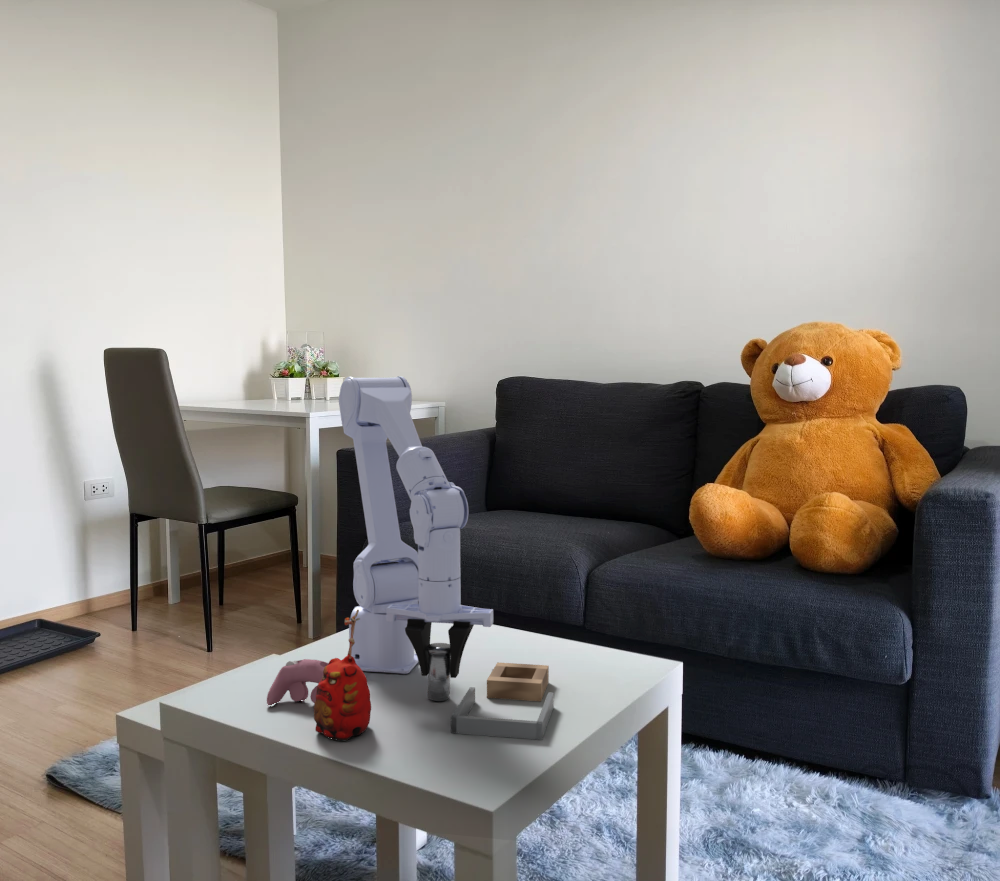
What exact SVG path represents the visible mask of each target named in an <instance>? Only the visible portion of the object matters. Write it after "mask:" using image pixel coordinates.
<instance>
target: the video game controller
mask: <svg viewBox="0 0 1000 881" xmlns="http://www.w3.org/2000/svg"><path fill="white" fill-rule="evenodd" d="M328 663H329V662H326V661H323V660H318V659H308V658H307V659H306V658H305V659H300V660H292V661H291V660H290V661H288V662H286V663H285V665H283V666H282V667H281V668H280V670H279V672H278V673H277V675H276V677H275V679H274V681H273V682H272V684H271V687H270V688H269V691H268V692H267V696H266V704H268V705H272V704H274V703H277V702H279V701H280V702H281V701H282V699H283V698H284V697H285V695H286V693H287V692H288V691H289V696H290V699H291V700H292V701H294V702H297V701H301V700H305V699H306V700H307V698H308V697H309V688H308V685H307V683H315V684H317V685H316V686H314V688H313V689H312V691H311V693H310V701H311V702H312V704H313V703H314V704H315V701H316V692H317V686H318V684H319V682H320V681H321V679H322V677H323V670H324V668H325V667H326V666H327V665H328ZM306 700H305V701H306ZM280 702H279V703H280ZM268 705H267V706H268Z"/></svg>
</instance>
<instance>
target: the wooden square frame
mask: <svg viewBox="0 0 1000 881" xmlns="http://www.w3.org/2000/svg"><path fill="white" fill-rule="evenodd" d="M549 667H550V666H549V665H548V664H530V663H529V664H528V663H513V662H512V663H511V662H510V663H509V662H496V663H495V666H494V667H493V669H492V671H491V673H490V674H489V676H488V677H487V679H486V698H487V699H496V700H497V699H498V700H499V699H500V700H511V701H512V700H513V701H530V702H542V699H543V697H544V696H545V693H546V690H547V688H548V685H549V681H550V679H549V677H550V676H549V675H550V674H549V670H550V669H549Z"/></svg>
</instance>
